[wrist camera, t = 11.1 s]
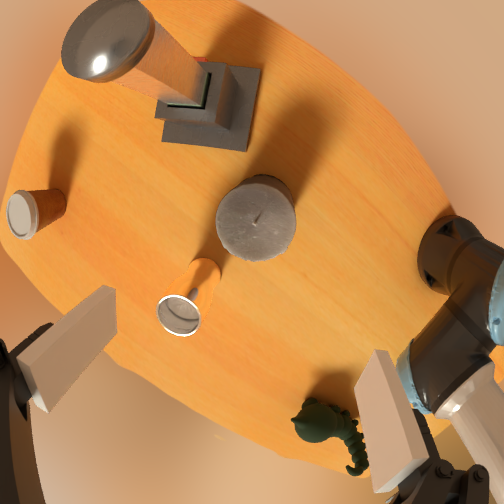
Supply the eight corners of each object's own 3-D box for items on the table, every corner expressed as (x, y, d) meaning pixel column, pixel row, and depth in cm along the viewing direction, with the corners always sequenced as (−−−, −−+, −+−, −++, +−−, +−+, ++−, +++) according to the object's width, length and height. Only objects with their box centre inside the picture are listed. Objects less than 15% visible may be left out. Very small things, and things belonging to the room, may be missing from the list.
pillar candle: (256, 162, 44) (243, 165, 30) (305, 198, 45) (315, 218, 31) (221, 210, 47) (195, 234, 33) (269, 244, 48) (262, 282, 34)
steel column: (224, 76, 33) (154, -14, 10) (216, 119, 35) (127, 73, 12) (180, 74, 33) (76, 4, 11) (172, 116, 35) (52, 83, 13)
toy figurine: (368, 411, 62) (303, 379, 57) (385, 469, 44) (314, 452, 39) (341, 428, 65) (274, 400, 59) (353, 485, 47) (277, 470, 42)
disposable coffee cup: (61, 173, 47) (21, 181, 36) (77, 213, 50) (38, 229, 39) (38, 194, 49) (0, 206, 38) (53, 232, 52) (16, 249, 40)
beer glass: (189, 250, 50) (157, 286, 36) (227, 261, 50) (207, 302, 36) (183, 284, 52) (152, 327, 38) (218, 295, 52) (198, 343, 38)
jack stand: (261, 71, 39) (254, 44, 28) (246, 152, 44) (235, 149, 32) (179, 65, 40) (150, 42, 28) (164, 142, 44) (131, 139, 33)
